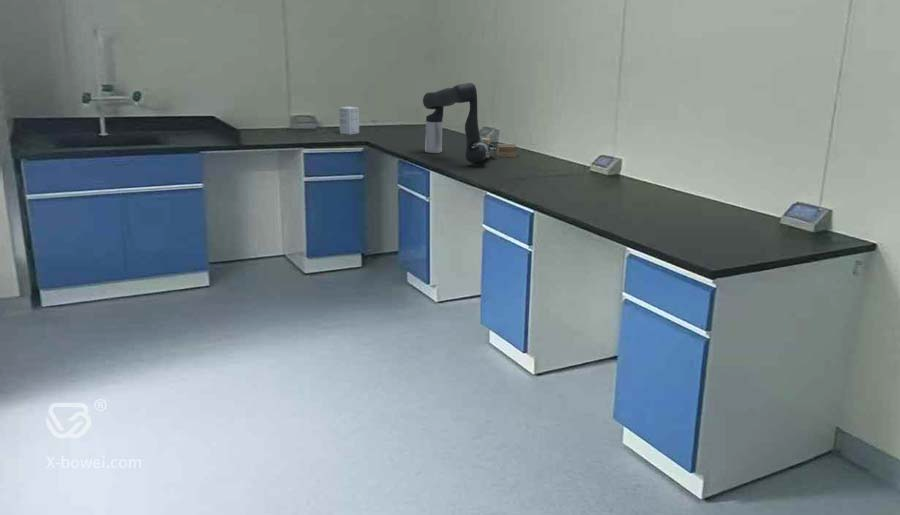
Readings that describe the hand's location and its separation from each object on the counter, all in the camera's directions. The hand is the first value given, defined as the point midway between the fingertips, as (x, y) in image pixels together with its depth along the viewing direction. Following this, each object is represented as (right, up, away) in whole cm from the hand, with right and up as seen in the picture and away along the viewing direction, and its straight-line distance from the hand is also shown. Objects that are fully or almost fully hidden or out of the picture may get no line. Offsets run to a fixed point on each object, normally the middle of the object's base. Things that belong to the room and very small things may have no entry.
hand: (486, 145), depth 410 cm
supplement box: (-86, +19, +74) cm, 115 cm away
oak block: (-1, -7, -1) cm, 7 cm away
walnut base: (+12, -5, +5) cm, 14 cm away
